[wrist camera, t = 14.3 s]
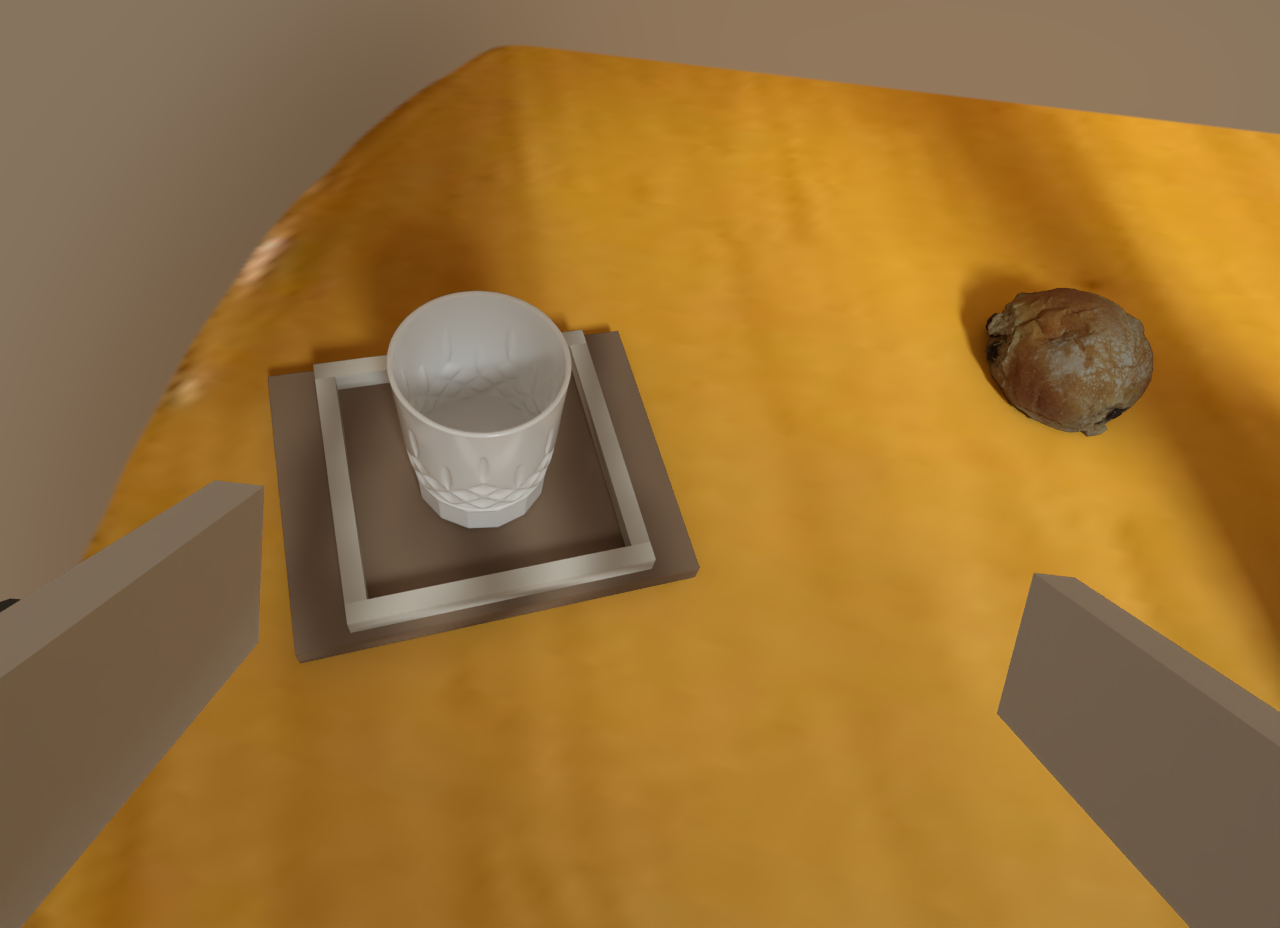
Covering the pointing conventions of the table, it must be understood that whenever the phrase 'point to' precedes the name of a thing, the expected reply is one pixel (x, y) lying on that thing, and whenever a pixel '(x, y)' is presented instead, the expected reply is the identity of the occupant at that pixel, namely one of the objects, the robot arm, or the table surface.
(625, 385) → the keeper board
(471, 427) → the white cup
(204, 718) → the table surface
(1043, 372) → the bread roll
